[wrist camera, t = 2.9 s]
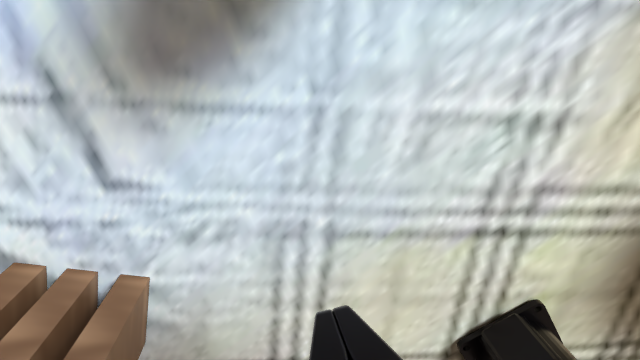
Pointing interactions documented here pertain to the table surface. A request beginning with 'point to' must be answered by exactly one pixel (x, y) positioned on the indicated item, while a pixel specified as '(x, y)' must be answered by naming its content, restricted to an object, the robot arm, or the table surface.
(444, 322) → the table surface
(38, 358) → the domino
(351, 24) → the table surface
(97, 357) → the domino
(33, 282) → the domino
